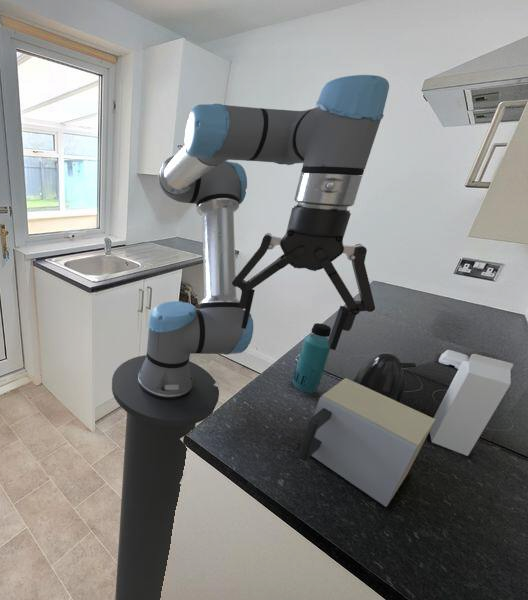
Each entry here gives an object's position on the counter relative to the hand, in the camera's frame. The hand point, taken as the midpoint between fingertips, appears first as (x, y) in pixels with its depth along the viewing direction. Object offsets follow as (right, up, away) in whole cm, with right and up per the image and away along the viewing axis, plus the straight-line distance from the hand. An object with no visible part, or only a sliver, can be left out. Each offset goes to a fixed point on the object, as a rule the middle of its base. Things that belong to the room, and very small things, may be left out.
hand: (285, 335), depth 53 cm
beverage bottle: (+22, -19, +33) cm, 44 cm away
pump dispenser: (+37, -22, +29) cm, 52 cm away
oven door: (+12, -29, +6) cm, 32 cm away
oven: (+20, -27, +11) cm, 36 cm away
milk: (+46, -27, +18) cm, 56 cm away
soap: (+81, -14, +54) cm, 99 cm away
